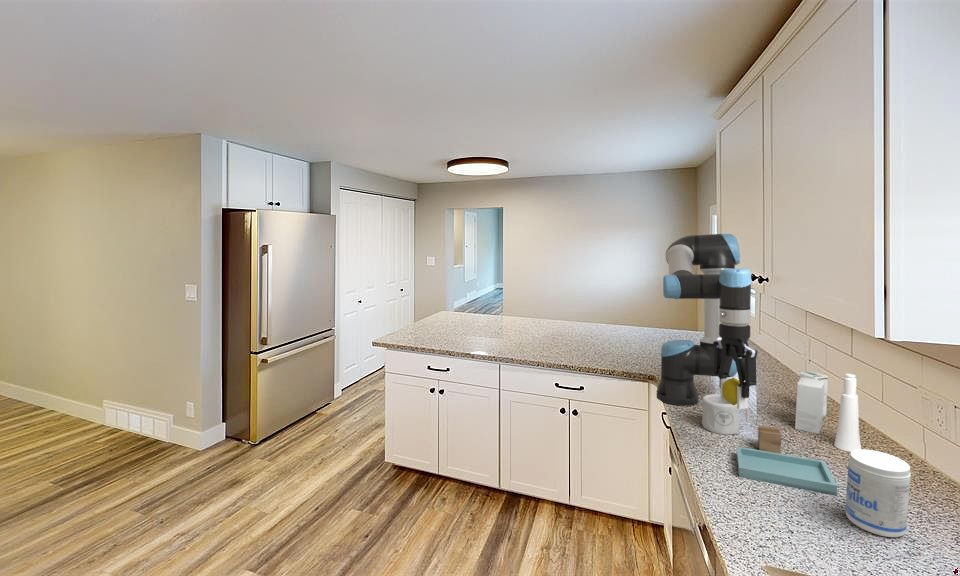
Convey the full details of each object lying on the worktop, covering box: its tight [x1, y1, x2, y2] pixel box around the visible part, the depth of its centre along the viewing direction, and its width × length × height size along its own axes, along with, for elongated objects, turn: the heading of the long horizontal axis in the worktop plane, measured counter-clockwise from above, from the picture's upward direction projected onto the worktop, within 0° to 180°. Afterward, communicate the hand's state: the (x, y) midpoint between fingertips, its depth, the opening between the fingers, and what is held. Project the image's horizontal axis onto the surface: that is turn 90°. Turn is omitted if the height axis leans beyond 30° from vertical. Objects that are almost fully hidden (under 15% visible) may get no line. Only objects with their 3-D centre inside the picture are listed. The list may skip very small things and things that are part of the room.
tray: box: [736, 446, 838, 496], centre depth 111 cm, size 13×20×2 cm, turn 61°
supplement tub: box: [845, 448, 912, 538], centre depth 89 cm, size 10×10×15 cm
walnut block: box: [757, 425, 782, 454], centre depth 123 cm, size 5×5×6 cm
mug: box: [701, 393, 750, 436], centre depth 138 cm, size 14×11×10 cm
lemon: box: [722, 377, 740, 405], centre depth 118 cm, size 6×6×8 cm
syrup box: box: [799, 371, 829, 417], centre depth 146 cm, size 6×6×14 cm
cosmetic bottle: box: [833, 373, 862, 453], centre depth 122 cm, size 6×6×22 cm
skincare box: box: [794, 377, 825, 435], centre depth 136 cm, size 8×7×16 cm
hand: (733, 404), depth 119 cm, fingers closed on lemon, 5 cm apart
